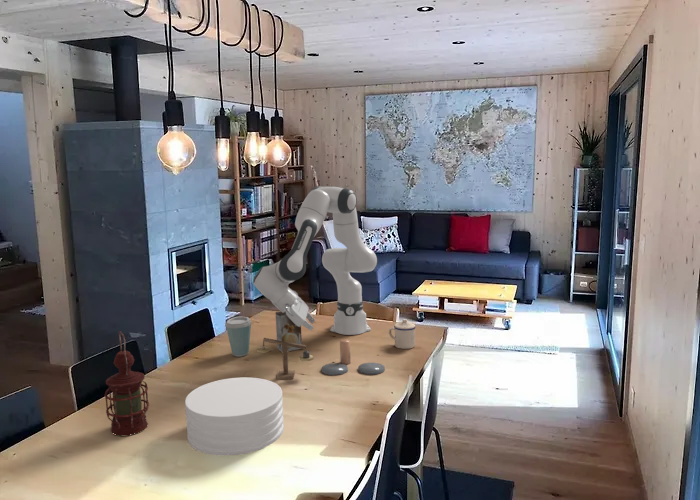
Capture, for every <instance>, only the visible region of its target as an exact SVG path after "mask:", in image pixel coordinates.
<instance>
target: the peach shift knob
mask: <svg viewBox="0 0 700 500" xmlns="http://www.w3.org/2000/svg"><path fill="white" fill-rule="evenodd" d="M339 352H340V353H339V354H340V355H339V356H340V358H339V361H340V362H339V363H341V364H345V365H346V366H348V365H349V364H351V340H350V339H347V338H345V339H339Z"/></svg>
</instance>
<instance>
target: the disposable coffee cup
mask: <svg viewBox="0 0 700 500" xmlns="http://www.w3.org/2000/svg"><path fill="white" fill-rule="evenodd" d="M224 324H225V327H226V332H227V336H228V340H229V345H230V350H231V354H232V356H234V357H238V358H239V357H240V358H241V357H245V356H248V354H249V352H250V344H251V343H250V341H251V339H250V338H251V332H252V331H251V329H252V324H253V323H252V320H251V319H250V318H249V316H241V315H240V316H235V317H232V318H230V319H227V321H226V323H224Z"/></svg>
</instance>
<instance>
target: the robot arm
mask: <svg viewBox="0 0 700 500" xmlns="http://www.w3.org/2000/svg"><path fill="white" fill-rule="evenodd" d="M357 200H358V199H357V195H356V193H355V191H354V190H352V189H349V188H347V187H345V188H343V187H338V186H322V185H317V186H314V187H312V189H310V191H309V192H308V194H307V195H306V196H305V198H304V200H303V202H302V204H301V205H300V207H299V209H298V212H297V214H296V217H295V220H294V221H295V222H294V226H295V228H296V230H297V234H296V237H295V240H294V242H293V244H292V247H291V250H289V252H288V253H287V254H285V255H284V256H283V257H282V258H281V259H280V260H279V261H277V262H274V263H273V264H269V265H265V266H261V267H260V268H259V269H258V271H257V272H256V274H255V275H254V277H253V281H252V283H253V286H254V287H255V288H256V289H257V290H258V291H259V293H261V295H263V297H264V298H266V299H268V300H269V301H271V303H272V305H273V306H275V307H276V308H277V309H278V310H279V312H282V313H283V312H285V311H286V315H287V316H288V317H289V318H290V320H291V321H292V322H293V323H294V324H295V325H297V326H298V327H300V326H301V327H302V326H303V327H304V328H305V329H307V330H308V331H313V330H314V325H313V324H314V323H315V321H316V318H314V317H313V315H312V314H311V313H310V312H309V309H310V307H309V305H308V304H306V302H305V301H304V300H303V299H302V298H301V297H300V296H299V293H298V292H296V290H293V289H292V288H290V287H289V284H291V283H293V282H295V281H297V280H300V279H301V278H303V276H304V275H305V273H306V271H307V256H308V253H309V251H310V248H311V245H312V243H313V241H314V238H315V236H316V235H317V234H318V232H319V231H320V229H321V227H322V226H323V223H324V221H325V219H326V217H327V214H330V213H331V214H332V223H333V234H334V238H335V240H336V241H337V242H339V243H341V244H342V245H343V246H345V247H333V248H327V249H325V251H324V252H323V254H322V257H321V263H322V265H323V267H324V269H326V270H327V271H328V272H329V273H330V275H332V277H333V279H334V281H335V283H336V289H337V301H336V308H337V310H336V312H334V314H333V325H332V326H331V328H330V329H329V331H330V332H332V333H337V334H340V335H346V336H352V335H355V336H356V335H360V334H364V333H367V332H370V331H371V330H372V329H371V327H370V326H369V325H368V323H367V313H366V312H365V311H364V301H363V296H362V294H363V288H362V287H363V286H362V284H361V282H360V281H358V280H357V279H355V278H354V277H352V276H351V273H369V272H372V271H374V269H376V266H377V264H378V258H377V255H376V253H375V252H374V250H372V249H370V248H369V247H368V246H367V244H365V242H364V241H363V239H362V237H361V234H360V228H359V221H358V220H359V219H358V212H357V207H356V206H357V202H358V201H357Z"/></svg>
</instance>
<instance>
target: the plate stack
mask: <svg viewBox="0 0 700 500" xmlns="http://www.w3.org/2000/svg"><path fill="white" fill-rule="evenodd" d="M283 403H284V399H283V390H282V388H281V386H280V385H279V384H277V383H276V382H275V381H271V380H268V379H264V378H258V377H247V376H246V377H244V376H243V377H231V378H230V377H229V378H222V379H219V380H215V381H211V382H208V383H205V384H202V385H200V386H199V387H196V388H195V389H193V390H191V392H190V393H188V394H187V396H186V397H185V401H184V405H185V417H186V418H185V419H186V420H185V422H186V432H187V433H186V434H187V435H186V437H187V442H188V444H189V445H190V447H192V448H193V449H195V450H196V451H198V452H200V453H203V454H206V455H212V456H238V455H243V454H248V453H254V452H256V451H259V450H262V449H264V448H266V447H268V446H271V444H273V443H275V442H277V440H278V439H280V437H281V436H282V435H283V432H284V426H285V425H284V406H283V405H284V404H283Z"/></svg>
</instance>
